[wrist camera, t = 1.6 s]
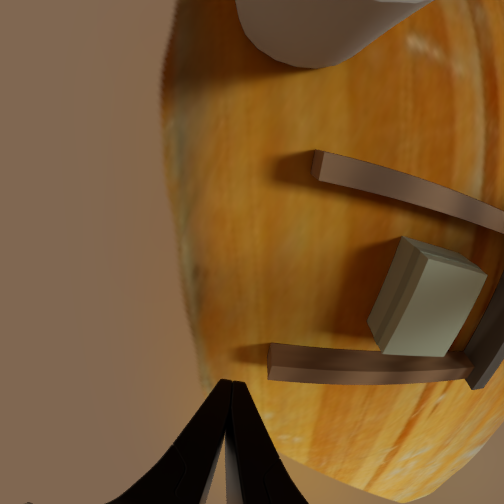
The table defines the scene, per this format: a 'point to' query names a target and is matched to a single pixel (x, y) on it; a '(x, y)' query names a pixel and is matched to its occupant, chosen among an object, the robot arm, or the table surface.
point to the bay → (374, 362)
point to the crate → (424, 300)
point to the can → (319, 27)
